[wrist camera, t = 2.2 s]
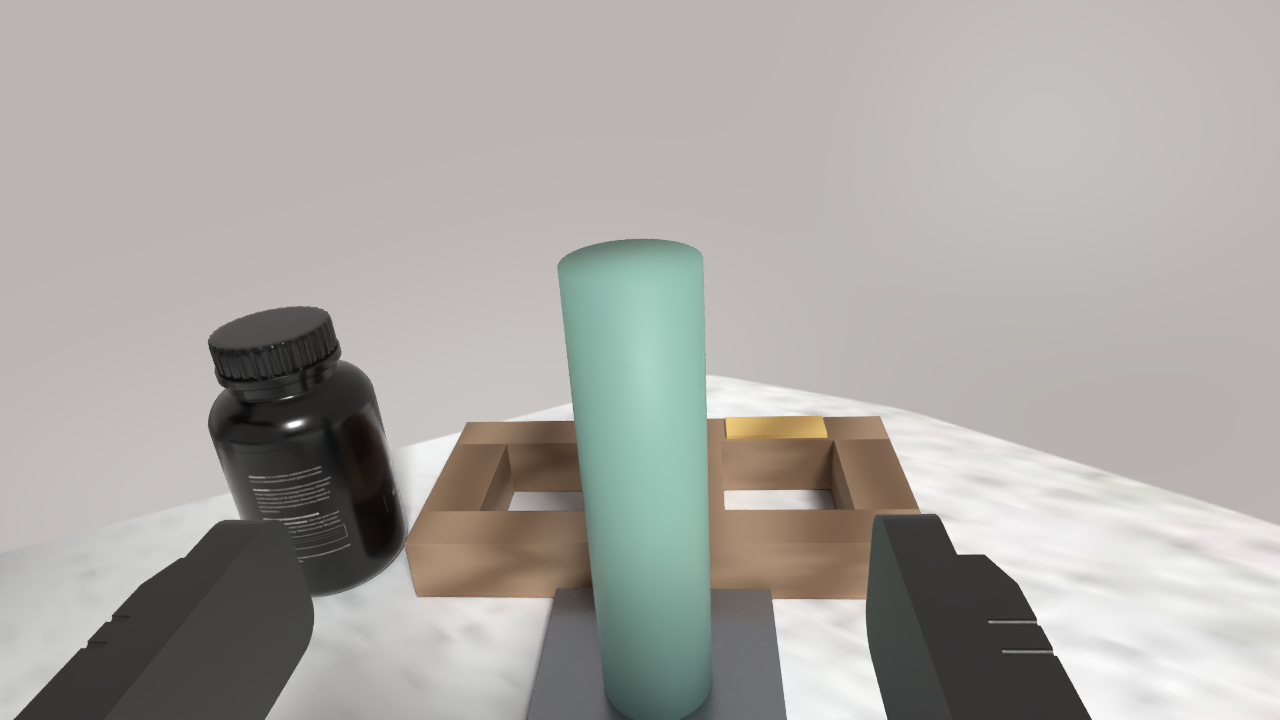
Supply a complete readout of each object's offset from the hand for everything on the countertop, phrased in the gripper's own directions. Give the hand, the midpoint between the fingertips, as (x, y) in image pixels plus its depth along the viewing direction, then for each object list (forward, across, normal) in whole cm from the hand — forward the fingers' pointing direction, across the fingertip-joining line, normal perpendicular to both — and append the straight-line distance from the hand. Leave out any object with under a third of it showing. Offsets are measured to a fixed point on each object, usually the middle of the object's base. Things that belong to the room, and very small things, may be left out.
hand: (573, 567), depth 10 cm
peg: (+12, 0, +16) cm, 20 cm away
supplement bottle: (+20, +16, +16) cm, 31 cm away
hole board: (+22, 0, +16) cm, 27 cm away
